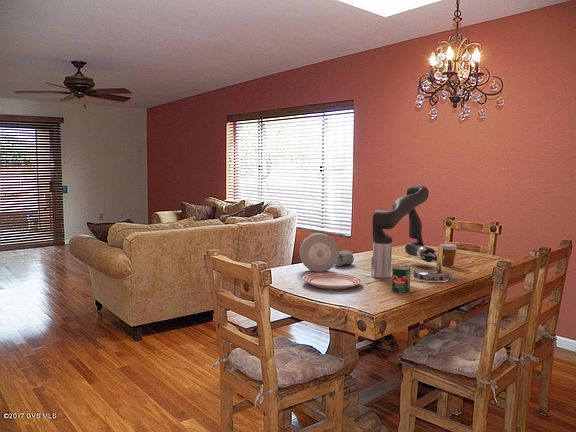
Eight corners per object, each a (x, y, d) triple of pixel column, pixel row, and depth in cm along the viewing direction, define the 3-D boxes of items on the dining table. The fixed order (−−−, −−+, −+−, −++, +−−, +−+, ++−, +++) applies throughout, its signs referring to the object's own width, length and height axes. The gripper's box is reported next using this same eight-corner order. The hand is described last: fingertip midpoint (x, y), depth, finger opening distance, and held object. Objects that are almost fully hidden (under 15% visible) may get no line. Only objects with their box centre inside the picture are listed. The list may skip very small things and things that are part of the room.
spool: (342, 262, 250) (339, 245, 254) (330, 268, 256) (327, 251, 260) (359, 266, 258) (356, 249, 262) (347, 271, 265) (344, 254, 269)
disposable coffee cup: (444, 267, 256) (445, 246, 254) (435, 264, 265) (435, 243, 264) (459, 267, 258) (460, 245, 257) (449, 263, 267) (450, 243, 266)
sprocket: (431, 282, 217) (433, 253, 216) (405, 275, 232) (406, 247, 230) (455, 278, 226) (457, 250, 225) (429, 272, 240) (430, 245, 239)
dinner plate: (324, 275, 234) (324, 269, 234) (372, 284, 217) (372, 277, 217) (290, 285, 213) (290, 278, 213) (340, 296, 196) (341, 288, 195)
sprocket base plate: (419, 283, 220) (420, 281, 220) (407, 275, 237) (407, 273, 237) (454, 282, 221) (454, 281, 221) (440, 274, 238) (440, 273, 238)
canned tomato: (406, 289, 207) (407, 265, 206) (412, 294, 199) (413, 269, 198) (389, 289, 207) (390, 265, 206) (393, 294, 199) (394, 269, 198)
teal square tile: (450, 279, 228) (450, 277, 228) (447, 278, 231) (447, 275, 231) (456, 279, 228) (456, 276, 228) (453, 277, 231) (453, 275, 231)
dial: (300, 273, 236) (300, 235, 234) (298, 269, 248) (299, 232, 246) (340, 274, 237) (340, 235, 235) (336, 269, 249) (337, 232, 247)
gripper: (414, 247, 248) (427, 253, 231) (438, 246, 250) (453, 252, 233) (414, 260, 249) (427, 267, 232) (437, 260, 251) (452, 267, 233)
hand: (440, 260), depth 232 cm, fingers closed
